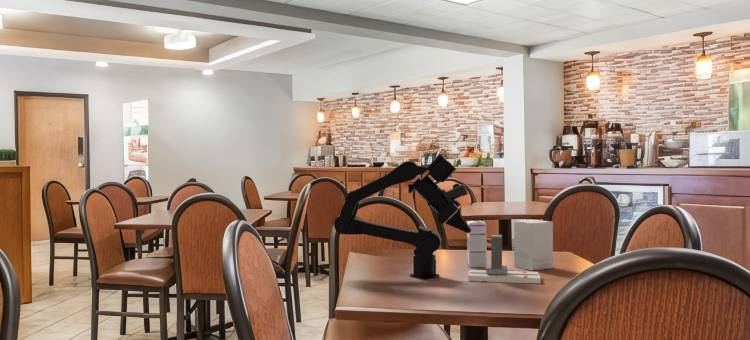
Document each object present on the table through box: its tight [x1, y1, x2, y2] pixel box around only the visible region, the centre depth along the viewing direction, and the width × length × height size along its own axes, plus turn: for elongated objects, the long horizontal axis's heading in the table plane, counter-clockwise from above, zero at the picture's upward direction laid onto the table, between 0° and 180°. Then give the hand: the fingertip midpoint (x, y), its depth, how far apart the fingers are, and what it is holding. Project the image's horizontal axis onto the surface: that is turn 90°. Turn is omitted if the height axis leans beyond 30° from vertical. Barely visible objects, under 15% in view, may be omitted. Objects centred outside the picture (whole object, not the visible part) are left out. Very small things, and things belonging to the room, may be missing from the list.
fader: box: [485, 234, 508, 274], centre depth 172 cm, size 6×6×11 cm
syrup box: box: [466, 220, 488, 268], centre depth 193 cm, size 6×6×14 cm
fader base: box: [467, 269, 542, 284], centre depth 172 cm, size 20×9×2 cm, turn 79°
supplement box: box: [513, 219, 554, 271], centre depth 190 cm, size 9×9×15 cm
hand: (470, 231), depth 173 cm, fingers open, 2 cm apart
